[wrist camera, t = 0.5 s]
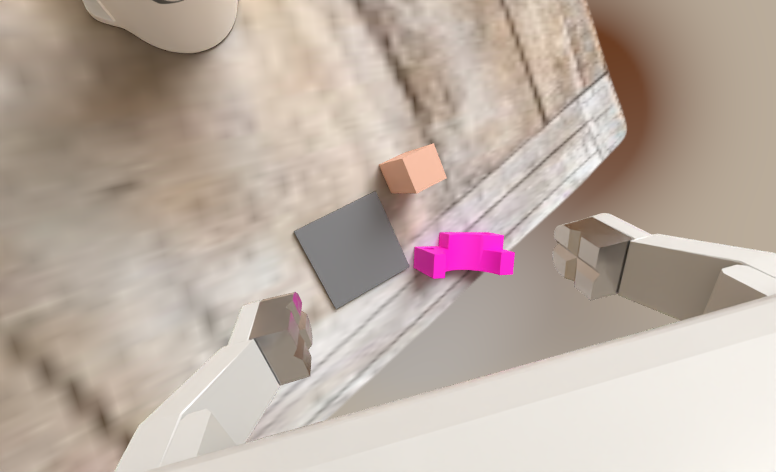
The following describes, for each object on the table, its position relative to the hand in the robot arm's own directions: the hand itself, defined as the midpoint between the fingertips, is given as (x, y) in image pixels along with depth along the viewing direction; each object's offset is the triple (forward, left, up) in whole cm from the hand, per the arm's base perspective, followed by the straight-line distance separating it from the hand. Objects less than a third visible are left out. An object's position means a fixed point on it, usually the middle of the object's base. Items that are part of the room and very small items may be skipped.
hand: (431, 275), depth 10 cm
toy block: (+18, +20, -41) cm, 48 cm away
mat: (+9, +4, -40) cm, 41 cm away
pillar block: (+1, +16, -40) cm, 43 cm away
